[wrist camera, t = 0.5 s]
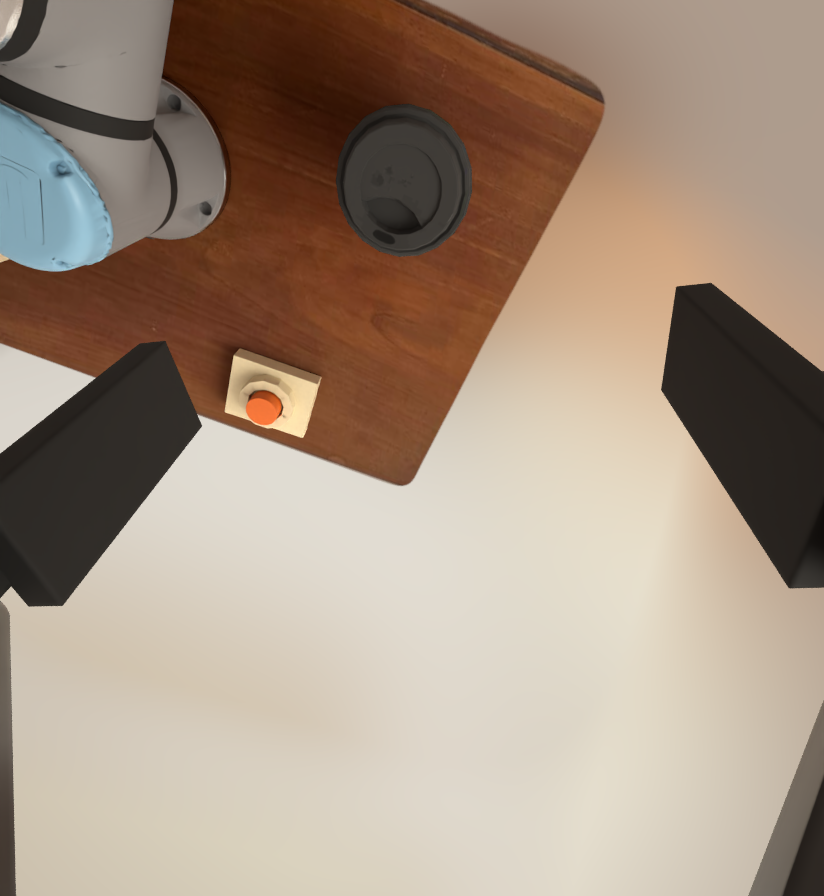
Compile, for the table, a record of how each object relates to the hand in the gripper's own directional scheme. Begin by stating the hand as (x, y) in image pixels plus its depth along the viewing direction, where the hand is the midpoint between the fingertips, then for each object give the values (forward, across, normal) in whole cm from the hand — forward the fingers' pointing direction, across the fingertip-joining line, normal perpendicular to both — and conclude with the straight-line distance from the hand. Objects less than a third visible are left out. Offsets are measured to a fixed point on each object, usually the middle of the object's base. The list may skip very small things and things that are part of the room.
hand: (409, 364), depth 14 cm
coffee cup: (+48, -4, 0) cm, 48 cm away
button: (+44, -26, -24) cm, 57 cm away
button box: (+48, -26, -24) cm, 60 cm away
